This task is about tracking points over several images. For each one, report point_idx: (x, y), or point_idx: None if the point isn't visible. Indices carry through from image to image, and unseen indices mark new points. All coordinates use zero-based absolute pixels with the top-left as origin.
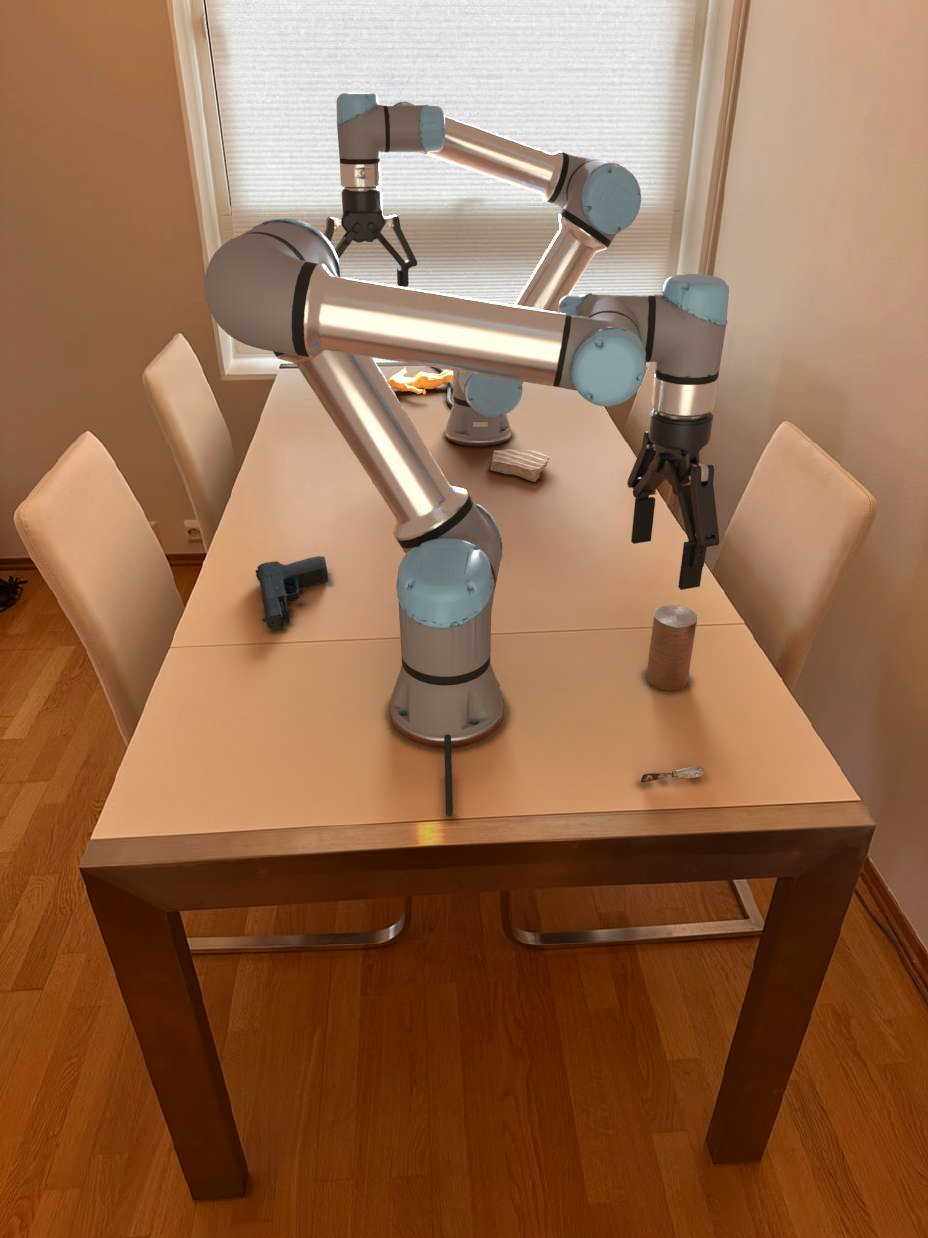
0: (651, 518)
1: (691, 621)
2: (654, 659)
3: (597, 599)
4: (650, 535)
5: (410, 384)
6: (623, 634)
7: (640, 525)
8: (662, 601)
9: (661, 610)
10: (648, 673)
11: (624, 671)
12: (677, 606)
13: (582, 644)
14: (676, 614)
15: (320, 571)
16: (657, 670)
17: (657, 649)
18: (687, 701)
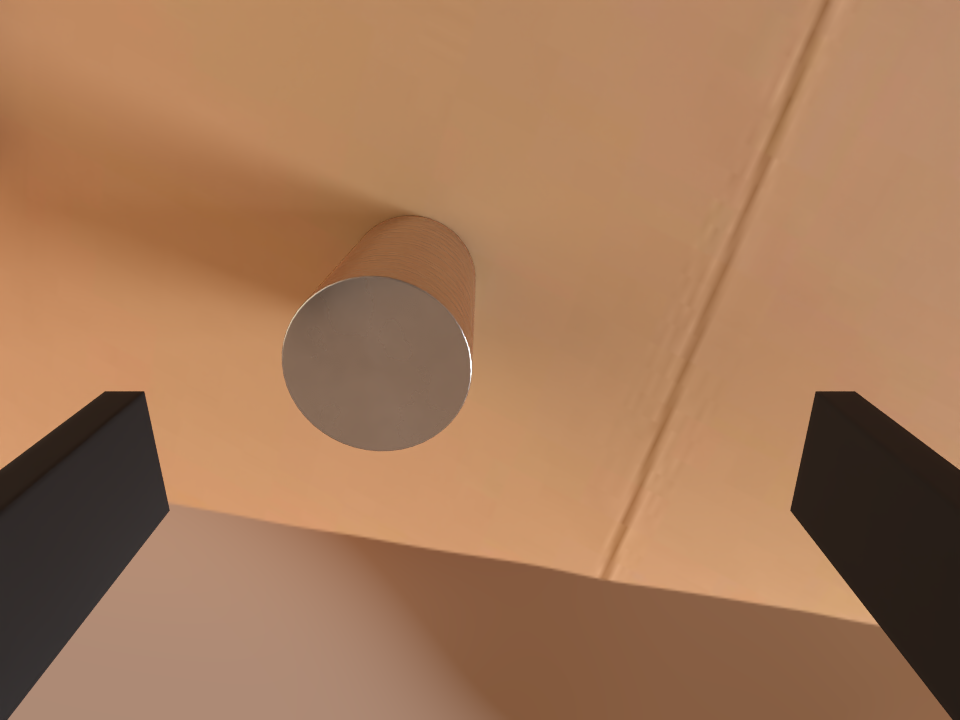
0: (898, 630)
1: (316, 407)
2: (379, 236)
3: (924, 275)
4: (813, 531)
5: None
6: (688, 263)
7: (892, 510)
8: (800, 462)
9: (434, 330)
10: (415, 221)
11: (491, 168)
12: (446, 410)
13: (693, 93)
14: (384, 376)
15: None
16: (368, 236)
17: (365, 249)
18: (293, 284)
